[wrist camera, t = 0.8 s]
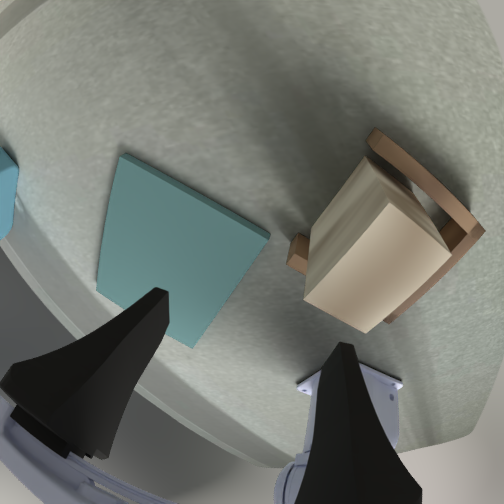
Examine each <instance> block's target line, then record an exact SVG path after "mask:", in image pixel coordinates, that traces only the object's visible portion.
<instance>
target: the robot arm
mask: <svg viewBox="0 0 504 504" xmlns="http://www.w3.org/2000/svg"><path fill="white" fill-rule="evenodd" d="M169 323H170V315H169V291H166V290H164V289H161V288H158V287H154V288H153V289H152V290H150V291H149V292H148V293H147V294H145V295H144V296H143V297H141V298H140V299H139V300H138V301H136V302H135V303H134V304H132V305H131V306H130V307H128V308H127V309H126V310H124V311H123V312H122V313H120V314H119V315H117V316H116V317H115V318H113V319H112V320H110V321H109V322H107V323H106V324H104V325H103V326H101V327H100V328H98V329H96V330H95V331H93V332H91V333H90V334H88V335H86V336H84V337H83V338H81V339H79V340H77V341H75V342H73V343H71V344H69V345H67V346H65V347H62V348H60V349H58V350H55V351H53V352H50V353H47V354H45V355H42V356H39V357H36V358H33V359H29V360H26V361H22V362H18V363H14V364H13V365H12V366H11V367H10V369H9V370H8V372H7V373H6V374H5V376H4V377H3V379H2V380H1V382H0V388H1V389H2V390H3V391H4V392H5V393H6V394H7V395H8V396H9V397H10V398H11V399H12V400H13V401H14V402H15V403H16V404H17V405H16V407H15V408H14V407H12V406H11V405H10V404H9V403H8V402H7V401H6V400H5V399H4V398H3V397H2V396H1V395H0V460H1V461H2V462H3V463H4V465H5V466H6V467H7V468H8V469H9V470H10V471H11V472H12V473H13V474H14V475H15V476H16V477H17V478H18V479H19V481H21V482H22V483H23V484H24V485H25V486H26V487H27V488H28V489H29V490H30V491H31V492H32V493H33V494H34V495H35V496H36V497H38V498H39V499H40V500H41V501H42V502H43V503H44V504H128V502H126V501H125V500H123V499H121V498H119V497H117V496H115V495H113V494H111V493H110V492H107V491H105V490H103V489H101V488H99V487H96V486H95V484H94V481H96V482H97V483H99V484H101V485H103V486H105V487H107V488H108V489H110V490H112V491H114V492H116V493H119V494H120V495H122V496H124V497H127V498H129V499H131V500H133V501H135V502H138V503H140V504H178V503H175V502H172V501H169V500H167V499H164V498H161V497H159V496H156V495H154V494H151V493H149V492H146V491H144V490H142V489H140V488H137V487H135V486H133V485H131V484H129V483H126V482H124V481H122V480H120V479H118V478H116V477H114V476H112V475H110V474H108V473H107V472H105V471H103V470H101V469H99V468H97V467H96V466H94V465H92V464H90V463H89V462H87V461H85V460H84V459H83V458H84V456H85V455H86V456H87V457H89V458H92V457H93V455H94V456H95V457H97V458H99V459H101V460H102V459H106V458H108V457H109V454H110V450H111V447H112V444H113V440H114V437H115V434H116V431H117V429H118V426H119V423H120V420H121V418H122V415H123V413H124V410H125V408H126V405H127V403H128V401H129V399H130V396H131V394H132V392H133V389H134V387H135V386H136V384H137V382H138V380H139V378H140V377H141V375H142V373H143V372H144V370H145V368H146V367H147V365H148V363H149V362H150V360H151V358H152V357H153V355H154V353H155V352H156V350H157V348H158V347H159V345H160V343H161V341H162V339H163V337H164V335H165V332H166V330H167V328H168V326H169ZM401 387H403V382H401V381H398V380H396V379H394V378H392V377H389V376H387V375H385V374H383V373H380V372H378V371H376V370H374V369H372V368H369V367H367V366H365V365H363V364H361V363H359V362H358V358H357V355H356V352H355V348H354V346H353V345H352V344H347V343H343V342H339V343H338V345H337V346H336V348H335V349H334V351H333V352H332V354H331V355H330V356H329V358H328V359H327V361H326V362H325V364H324V365H323V366H322V368H321V370H320V371H318V372H317V373H315V374H314V375H312V376H311V377H309V378H308V379H306V380H305V381H303V382H302V383H300V384H298V385H297V388H296V389H297V390H298V391H301V392H303V393H306V394H308V395H311V402H310V409H309V416H308V423H307V429H306V436H305V442H304V448H303V453H302V454H296V458H295V462H290V463H288V464H287V465H286V466H285V468H283V469H282V471H281V472H280V474H279V476H278V478H277V481H276V485H275V489H274V504H422V488H421V487H420V486H419V484H418V483H417V482H416V481H415V479H414V478H413V477H412V476H411V474H410V473H409V472H408V470H407V469H406V467H405V466H404V465H403V463H402V462H401V460H400V458H399V457H398V455H397V453H396V452H395V450H394V449H395V447H396V444H397V442H398V438H399V408H398V392H397V390H398V389H400V388H401ZM93 480H94V481H93Z"/></svg>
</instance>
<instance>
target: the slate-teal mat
mask: <svg viewBox="0 0 504 504" xmlns="http://www.w3.org/2000/svg"><path fill="white" fill-rule="evenodd" d="M269 237H270V234H269V233H268V232H266V231H264V230H263V229H261V228H259V227H257V226H256V225H254V224H252V223H251V222H249V221H247V220H245V219H244V218H242V217H240V216H238V215H237V214H235V213H233V212H231V211H230V210H228V209H226V208H224V207H223V206H221V205H219V204H217V203H216V202H214V201H212V200H210V199H209V198H207V197H205V196H203V195H202V194H200V193H198V192H196V191H194V190H193V189H191V188H189V187H187V186H185V185H184V184H182V183H180V182H178V181H176V180H175V179H173V178H171V177H169V176H167V175H166V174H164V173H162V172H160V171H158V170H156V169H155V168H153V167H151V166H149V165H147V164H145V163H144V162H142V161H140V160H138V159H136V158H134V157H132V156H131V155H129V154H127V153H125V154H123V155H121V156H120V157H119V161H118V165H117V169H116V173H115V177H114V181H113V186H112V190H111V195H110V200H109V205H108V210H107V215H106V221H105V226H104V232H103V239H102V245H101V252H100V260H99V268H98V277H97V287H96V291H98V292H99V293H100V294H102V295H103V296H105V297H106V298H108V299H109V300H111V301H112V302H114V303H116V304H117V305H119V306H120V307H122V308H123V309H125V310H126V309H127V308H128V307H130V306H131V305H132V304H134V303H135V302H136V301H138V300H139V299H140V298H141V297H143V296H144V295H145V294H147V293H148V292H149V291H150V290H152V289H153V288H154V287H158V288H161V289H164V290H166V291H169V315H170V323H169V326H168V328H167V330H166V332H165V334H167V335H168V336H170V337H172V338H174V339H176V340H177V341H179V342H181V343H183V344H185V345H186V346H188V347H190V348H192V349H193V347H194V346H195V345H196V343H197V342H198V340H199V339H200V338H201V336H202V335H203V333H204V332H205V330H206V329H207V328H208V326H209V325H210V323H211V322H212V320H213V319H214V318H215V316H216V315H217V313H218V312H219V310H220V309H221V308H222V306H223V305H224V303H225V302H226V300H227V299H228V298H229V296H230V295H231V293H232V292H233V290H234V289H235V288H236V286H237V285H238V283H239V282H240V280H241V279H242V278H243V276H244V275H245V273H246V272H247V270H248V269H249V267H250V266H251V265H252V263H253V262H254V260H255V259H256V257H257V256H258V255H259V253H260V252H261V250H262V249H263V247H264V246H265V244H266V243H267V242H268V240H269Z"/></svg>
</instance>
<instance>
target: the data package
mask: <svg viewBox="0 0 504 504" xmlns="http://www.w3.org/2000/svg"><path fill="white" fill-rule="evenodd" d="M18 174H19V168H18V166H17V165H16V164H15V163H14V162H13V160H12V159H11V158H10V157H9V156H8V154H7V153H6V152H5V151H4V150H3V148H2V147H1V146H0V240H1V239H2V238H4V237H5V236H6V235H7V234H8V233H9V231H10V230H11V228H12V225H13V214H14V204H15V195H16V187H17V180H18Z"/></svg>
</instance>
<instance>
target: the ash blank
mask: <svg viewBox="0 0 504 504" xmlns="http://www.w3.org/2000/svg"><path fill="white" fill-rule="evenodd" d="M451 256H452V254H451V253H450V251H449V249H448V247H447V246H446V244H445V242H444V240H443V239H442V237H441V235H440V234H439V232H438V230H437V229H436V227H435V225H434V224H433V222H432V221H431V219H430V217H429V216H428V214H427V213H426V211H425V210H424V208H423V207H422V205H421V204H420V202H419V201H418V199H417V198H416V196H415V195H414V194H413V192H411V191H410V190H409V189H408V188H407V187H405V186H404V185H403V184H402V183H400V182H399V181H398V180H397V179H395V178H394V177H393V176H392V175H390V174H389V173H388V172H386V171H385V170H384V169H383V168H381V167H380V166H379V165H377V164H376V163H375V162H373V161H372V160H371V159H369V158H368V157H366V156H364V157H363V159H362V160H361V162H360V163H359V164H358V166H357V167H356V168H355V170H354V171H353V173H352V174H351V175H350V177H349V178H348V179H347V181H346V182H345V183H344V185H343V186H342V188H341V189H340V190H339V192H338V193H337V194H336V196H335V197H334V198H333V200H332V201H331V202H330V204H329V205H328V206H327V208H326V209H325V210H324V212H323V213H322V214H321V215H320V217H319V218H318V219H317V221H316V222H315V223H314V225H313V226H312V227H311V235H310V245H309V255H308V264H307V272H306V281H305V289H304V296H303V300H304V301H306V302H308V303H310V304H312V305H314V306H315V307H317V308H319V309H321V310H323V311H324V312H326V313H328V314H330V315H332V316H334V317H336V318H337V319H339V320H341V321H343V322H345V323H347V324H348V325H350V326H352V327H354V328H356V329H358V330H360V331H361V332H363V333H365V334H366V333H367V332H368V331H370V330H371V329H372V328H373V327H375V326H376V325H377V324H378V323H379V322H381V321H382V320H383V319H384V318H385V317H387V316H388V315H389V314H390V313H391V312H393V311H394V310H395V309H396V308H397V307H398V306H399V305H401V304H402V303H403V302H404V301H405V300H406V299H407V298H408V297H410V296H411V295H412V294H413V293H414V292H415V291H416V290H417V289H418V288H419V287H420V286H421V285H423V284H424V283H425V282H426V281H427V280H428V279H429V278H430V277H431V276H432V275H433V274H434V273H435V272H436V271H437V270H438V269H439V268H440V267H441V266H442V265H443V264H444V263H445V262H446V261H447V260H448V259H449V258H450V257H451Z"/></svg>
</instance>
